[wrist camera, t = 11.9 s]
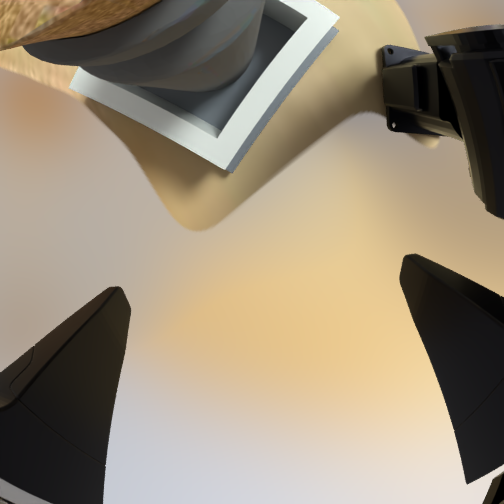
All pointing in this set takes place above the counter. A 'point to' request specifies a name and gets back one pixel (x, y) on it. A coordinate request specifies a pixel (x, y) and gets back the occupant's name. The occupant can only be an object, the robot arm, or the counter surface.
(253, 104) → the holder
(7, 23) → the bottle
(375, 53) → the counter surface
